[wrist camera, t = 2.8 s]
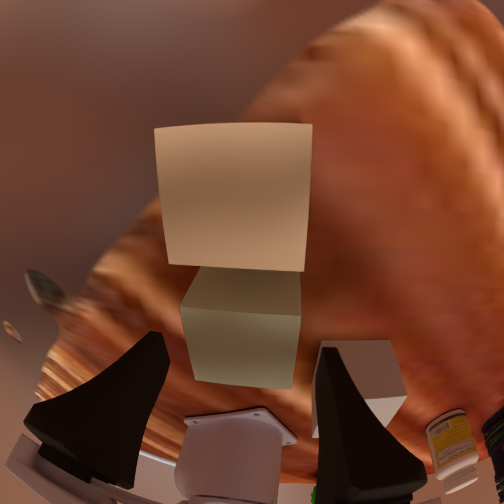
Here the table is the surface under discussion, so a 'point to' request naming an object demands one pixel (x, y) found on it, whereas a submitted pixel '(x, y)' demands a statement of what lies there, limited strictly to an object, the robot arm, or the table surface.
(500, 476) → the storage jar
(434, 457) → the supplement bottle
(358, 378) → the white cube
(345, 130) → the table surface
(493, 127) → the table surface
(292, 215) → the birch block
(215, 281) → the sage block
